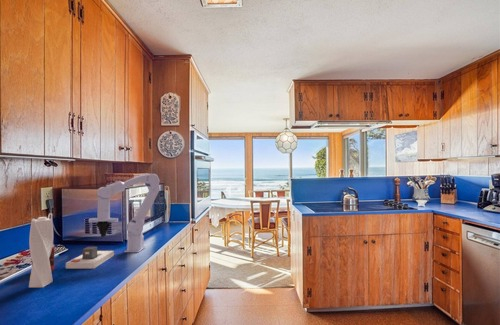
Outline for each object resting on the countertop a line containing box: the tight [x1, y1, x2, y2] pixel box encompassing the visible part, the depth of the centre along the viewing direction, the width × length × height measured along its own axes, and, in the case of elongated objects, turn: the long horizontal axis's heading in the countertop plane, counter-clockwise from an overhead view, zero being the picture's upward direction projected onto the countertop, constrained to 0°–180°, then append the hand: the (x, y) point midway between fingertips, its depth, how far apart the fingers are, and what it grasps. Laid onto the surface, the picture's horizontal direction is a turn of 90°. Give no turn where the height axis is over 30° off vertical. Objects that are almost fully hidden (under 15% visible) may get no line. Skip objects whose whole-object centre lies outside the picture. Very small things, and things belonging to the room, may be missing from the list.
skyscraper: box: [28, 212, 54, 288], centre depth 107 cm, size 8×8×28 cm
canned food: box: [31, 243, 55, 272], centre depth 120 cm, size 8×8×11 cm
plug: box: [82, 246, 98, 259], centre depth 132 cm, size 7×4×6 cm
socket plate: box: [65, 250, 115, 270], centre depth 132 cm, size 18×13×3 cm
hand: (103, 236), depth 141 cm, fingers closed
